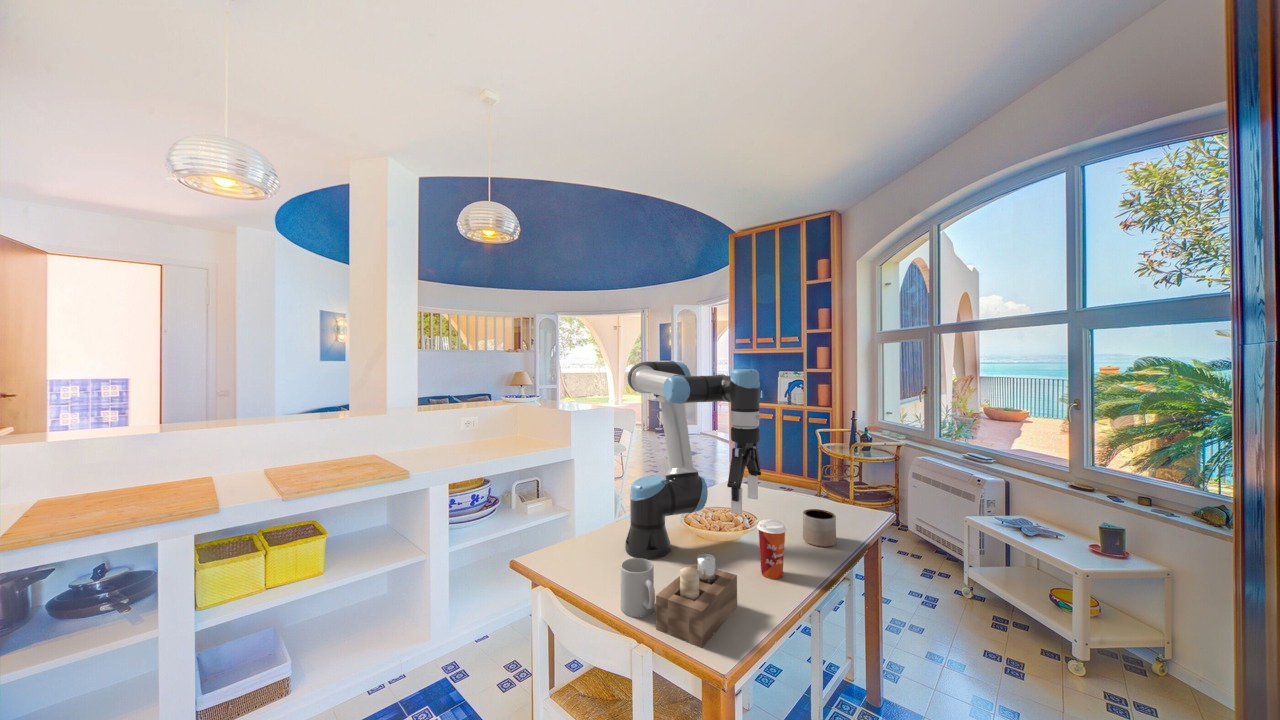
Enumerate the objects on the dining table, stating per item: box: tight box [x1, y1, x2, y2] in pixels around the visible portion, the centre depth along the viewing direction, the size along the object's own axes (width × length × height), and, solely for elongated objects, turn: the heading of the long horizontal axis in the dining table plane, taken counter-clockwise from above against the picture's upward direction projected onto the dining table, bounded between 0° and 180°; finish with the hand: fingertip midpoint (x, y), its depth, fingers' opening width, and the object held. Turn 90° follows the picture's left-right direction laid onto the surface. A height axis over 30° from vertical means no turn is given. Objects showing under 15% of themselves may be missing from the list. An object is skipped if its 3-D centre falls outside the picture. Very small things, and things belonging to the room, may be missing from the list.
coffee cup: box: [756, 518, 787, 580], centre depth 131 cm, size 8×8×15 cm
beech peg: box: [679, 566, 699, 601], centre depth 105 cm, size 4×4×8 cm
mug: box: [620, 557, 656, 618], centre depth 112 cm, size 12×8×11 cm
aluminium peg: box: [696, 553, 716, 585], centre depth 113 cm, size 4×4×8 cm
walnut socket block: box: [655, 562, 738, 649], centre depth 109 cm, size 12×20×8 cm, turn 146°
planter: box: [802, 508, 837, 548], centre depth 155 cm, size 11×11×10 cm
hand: (745, 505), depth 119 cm, fingers open, 13 cm apart
